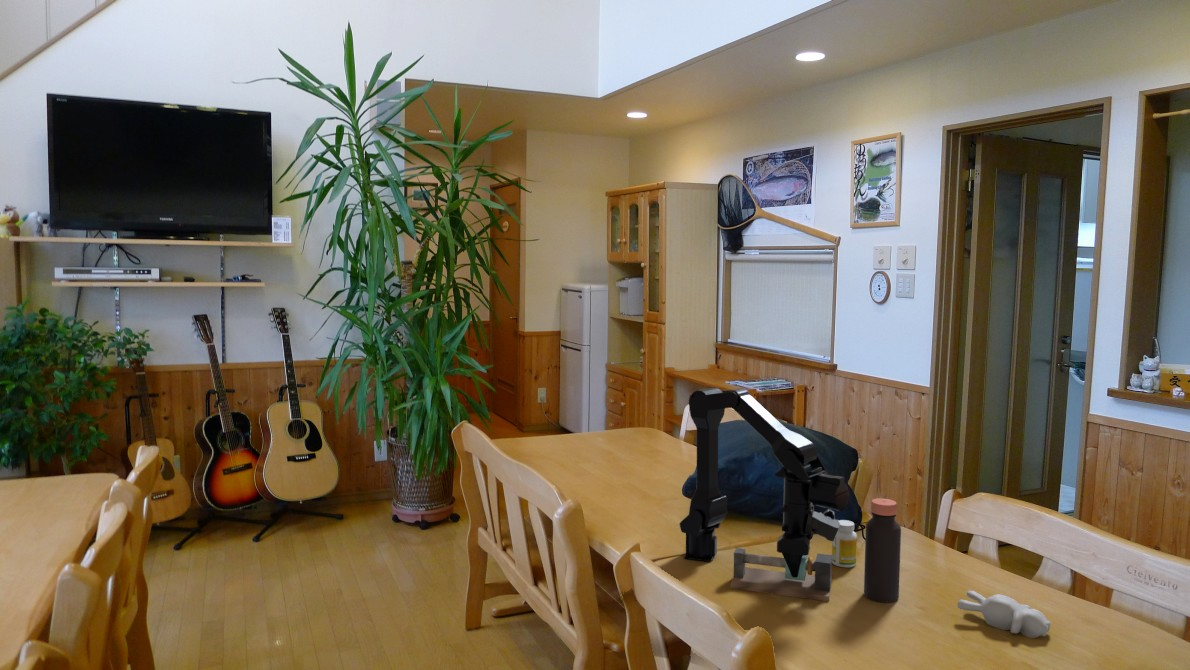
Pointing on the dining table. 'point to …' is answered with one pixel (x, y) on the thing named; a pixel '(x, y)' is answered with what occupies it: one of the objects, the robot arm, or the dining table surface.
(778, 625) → the dining table surface
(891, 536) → the water bottle
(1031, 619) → the bunny figurine
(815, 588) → the rod stand
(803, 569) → the sleeve
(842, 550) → the supplement bottle
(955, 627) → the dining table surface
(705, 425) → the robot arm
